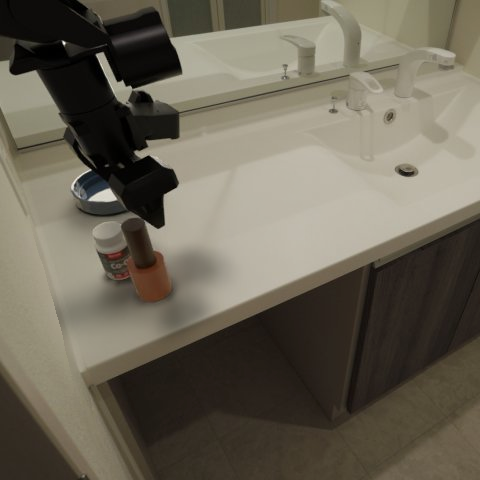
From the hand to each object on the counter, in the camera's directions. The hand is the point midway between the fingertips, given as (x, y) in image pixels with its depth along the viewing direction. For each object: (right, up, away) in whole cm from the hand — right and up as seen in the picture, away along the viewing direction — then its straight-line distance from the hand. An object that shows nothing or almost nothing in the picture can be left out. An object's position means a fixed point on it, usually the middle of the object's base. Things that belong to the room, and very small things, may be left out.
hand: (144, 210), depth 55 cm
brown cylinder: (-2, -4, +2) cm, 5 cm away
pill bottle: (-8, -9, +11) cm, 17 cm away
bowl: (-17, +5, +25) cm, 31 cm away
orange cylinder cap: (-2, -12, +8) cm, 14 cm away
